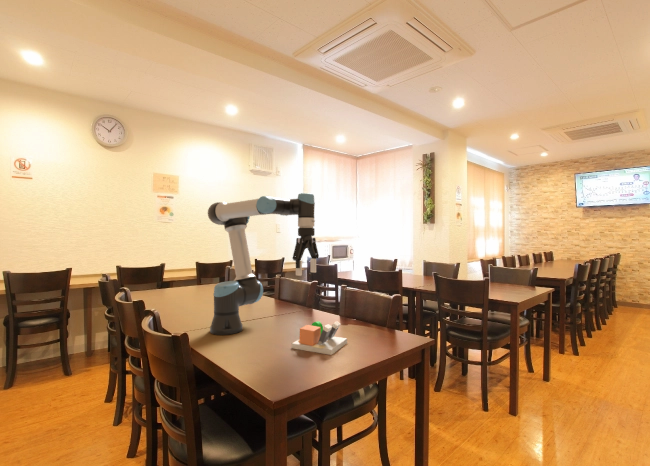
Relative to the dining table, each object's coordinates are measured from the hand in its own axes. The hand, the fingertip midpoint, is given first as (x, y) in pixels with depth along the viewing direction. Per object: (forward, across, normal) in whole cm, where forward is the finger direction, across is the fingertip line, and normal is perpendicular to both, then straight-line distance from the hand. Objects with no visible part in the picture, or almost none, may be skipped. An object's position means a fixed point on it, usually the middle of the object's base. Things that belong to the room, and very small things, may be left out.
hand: (306, 274), depth 155 cm
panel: (+29, -8, -11) cm, 32 cm away
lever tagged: (+26, -12, -14) cm, 31 cm away
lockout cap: (+27, -12, -8) cm, 30 cm away
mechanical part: (+29, +3, -3) cm, 30 cm away
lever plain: (+26, -5, -14) cm, 30 cm away
